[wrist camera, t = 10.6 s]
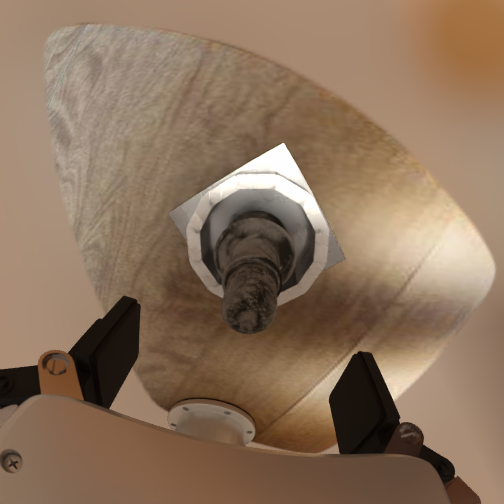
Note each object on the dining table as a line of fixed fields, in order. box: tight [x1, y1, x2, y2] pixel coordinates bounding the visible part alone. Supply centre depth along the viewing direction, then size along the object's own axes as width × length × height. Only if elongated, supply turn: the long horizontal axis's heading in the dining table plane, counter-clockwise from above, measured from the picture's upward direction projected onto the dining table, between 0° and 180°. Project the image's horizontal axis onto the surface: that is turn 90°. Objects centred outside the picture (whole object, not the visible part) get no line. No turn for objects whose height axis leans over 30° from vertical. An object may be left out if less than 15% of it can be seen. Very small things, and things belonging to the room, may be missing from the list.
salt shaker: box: [214, 211, 296, 334], centre depth 18 cm, size 6×6×12 cm
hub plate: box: [168, 143, 345, 306], centre depth 23 cm, size 11×11×4 cm
